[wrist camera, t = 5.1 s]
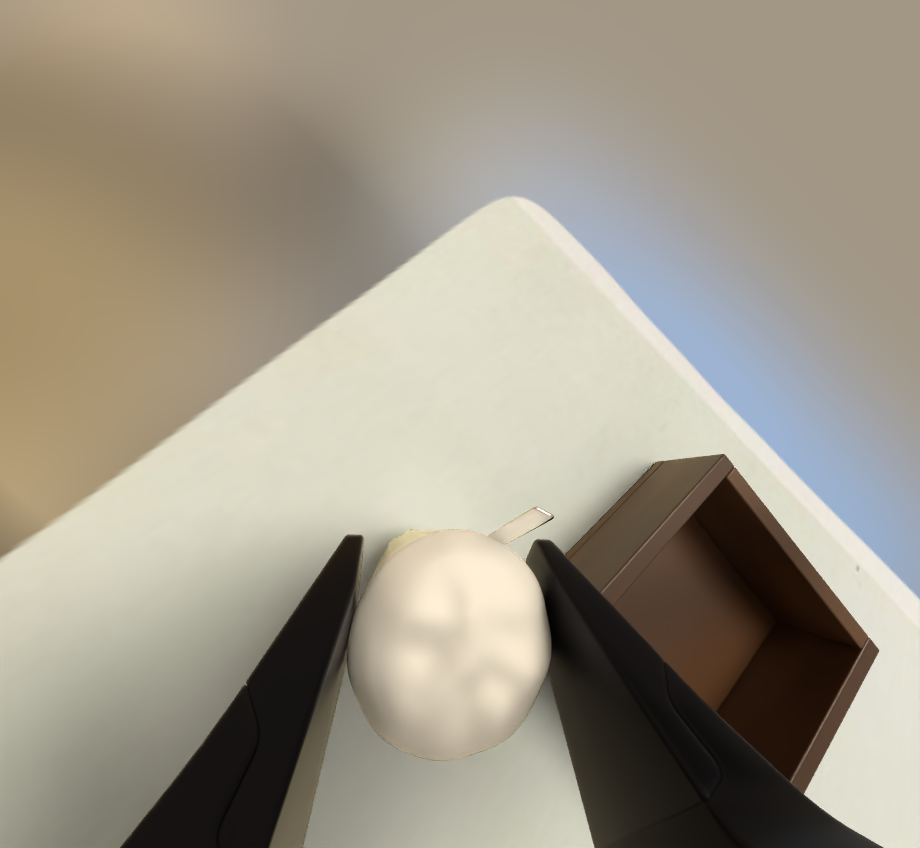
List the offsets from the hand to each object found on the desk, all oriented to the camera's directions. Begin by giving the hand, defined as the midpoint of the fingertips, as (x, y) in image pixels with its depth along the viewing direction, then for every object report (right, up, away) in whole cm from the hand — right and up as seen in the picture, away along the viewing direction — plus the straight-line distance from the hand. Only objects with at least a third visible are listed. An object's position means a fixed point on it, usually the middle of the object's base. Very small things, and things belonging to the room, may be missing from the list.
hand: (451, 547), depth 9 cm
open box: (+11, -7, +9) cm, 16 cm away
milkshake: (-2, -3, +7) cm, 7 cm away
